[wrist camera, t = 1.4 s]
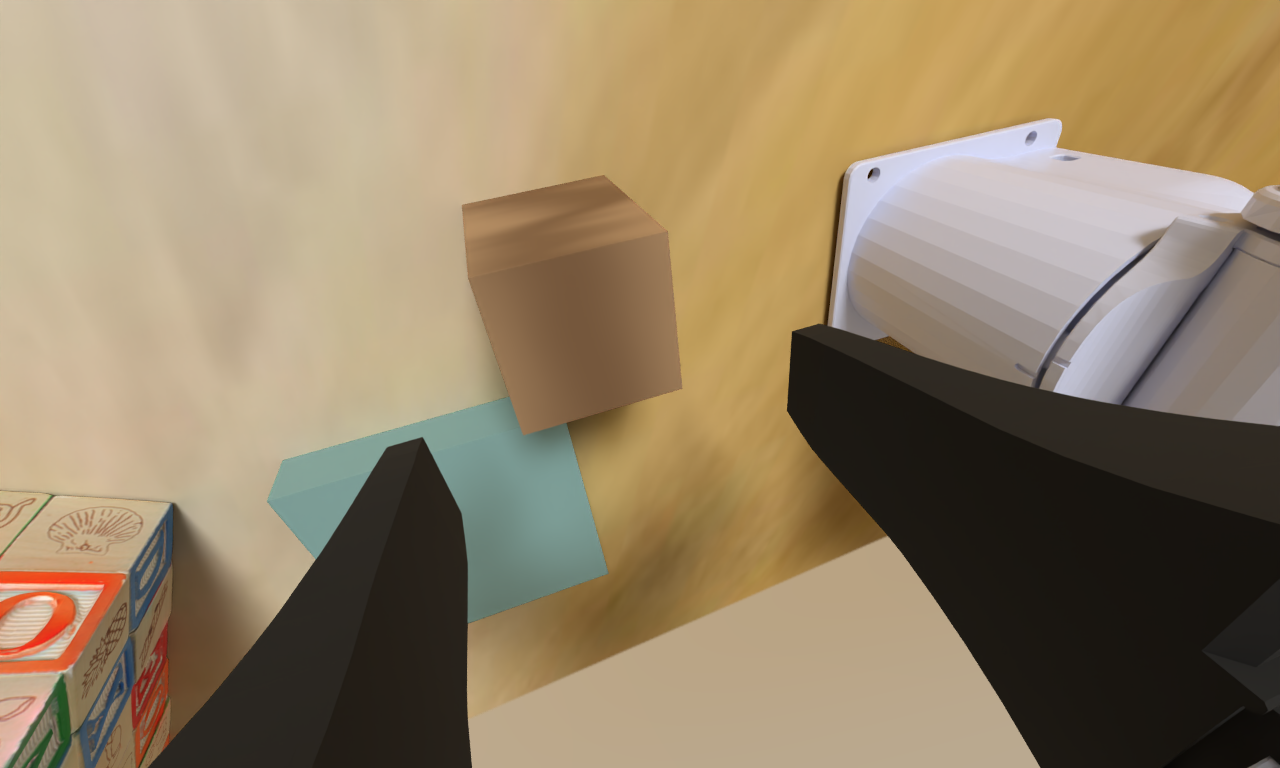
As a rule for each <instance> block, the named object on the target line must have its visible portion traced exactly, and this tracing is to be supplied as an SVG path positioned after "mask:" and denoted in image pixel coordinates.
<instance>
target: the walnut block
mask: <svg viewBox="0 0 1280 768" xmlns="http://www.w3.org/2000/svg"><path fill="white" fill-rule="evenodd" d="M462 211H463V223H464V235H465V246H466V258H467V270H468V279H469V282H470V285H471V288H472V291H473V293H474V296H475V299H476V302H477V305H478V308H479V311H480V313H481V316H482V319H483V322H484V325H485V328H486V331H487V333H488V336H489V339H490V342H491V345H492V348H493V351H494V353H495V356H496V359H497V362H498V365H499V368H500V371H501V374H502V376H503V379H504V382H505V385H506V388H507V391H508V394H509V396H510V399H511V402H512V405H513V408H514V411H515V414H516V416H517V419H518V422H519V425H520V428H521V431H522V434H523V435H526V434H530V433H533V432H537V431H540V430H543V429H547V428H550V427H554V426H557V425H560V424H564V423H567V422H571V421H574V420H577V419H581V418H584V417H588V416H591V415H594V414H598V413H601V412H605V411H608V410H611V409H615V408H618V407H622V406H625V405H628V404H632V403H635V402H639V401H642V400H645V399H649V398H652V397H656V396H659V395H662V394H666V393H669V392H673V391H676V390H679V389H682V380H681V369H680V358H679V348H678V337H677V326H676V315H675V304H674V293H673V283H672V272H671V261H670V250H669V239H668V231H667V230H666V229H665V228H664V227H662V226H661V225H660V224H659V223H658V222H657V221H656V220H654V219H653V218H652V217H651V216H650V215H649V214H648V213H646V212H645V211H644V210H643V209H642V208H641V207H640V206H638V205H637V204H636V203H635V202H634V201H633V200H632V199H630V198H629V197H628V196H627V195H626V194H625V193H624V192H622V191H621V190H620V189H619V188H618V187H617V186H616V185H615V184H613V183H612V182H611V181H610V180H609V179H608V178H607V177H605V176H604V175H603V176H598V177H593V178H588V179H583V180H579V181H574V182H569V183H564V184H560V185H555V186H550V187H545V188H541V189H536V190H531V191H526V192H522V193H517V194H512V195H507V196H503V197H498V198H493V199H488V200H484V201H479V202H474V203H469V204H465V205H462Z"/></svg>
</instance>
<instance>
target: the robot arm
mask: <svg viewBox="0 0 1280 768" xmlns="http://www.w3.org/2000/svg"><path fill="white" fill-rule="evenodd" d="M1061 130H1062V123H1061V121H1060V120H1059V119H1051V118H1047V119H1043V120H1039V121H1034V122H1030V123H1025V124H1021V125H1016V126H1012V127H1008V128H1003V129H999V130H994V131H990V132H985V133H981V134H977V135H972V136H968V137H963V138H959V139H954V140H950V141H945V142H941V143H937V144H932V145H928V146H923V147H919V148H914V149H910V150H906V151H901V152H897V153H892V154H888V155H883V156H879V157H875V158H870V159H866V160H861V161H857V162H855V163H853V164H852V165H851V166H850V167H849V168H848V169H847V171H846V173H845V176H844V181H843V191H842V200H841V209H840V218H839V227H838V236H837V245H836V254H835V263H834V272H833V281H832V290H831V299H830V309H829V318H828V326H827V325H823V324H817V325H813V326H810V327H806V328H803V329H799V330H796V331H792V341H791V357H790V372H789V388H788V404H787V412H788V413H789V415H790V416H791V418H792V419H793V421H794V423H795V424H796V426H797V427H798V429H799V431H800V432H801V434H802V435H803V437H804V438H805V439H806V441H807V442H808V444H809V445H810V447H811V448H812V450H813V451H814V452H815V453H816V454H817V456H818V457H819V458H820V459H821V460H822V461H823V463H824V464H825V465H826V466H827V467H828V468H829V469H830V471H831V472H832V473H833V474H834V475H835V476H836V478H837V479H838V480H839V481H840V482H841V483H842V484H843V485H844V487H845V488H846V489H847V490H848V491H849V492H850V493H851V494H852V496H853V497H854V498H855V499H856V500H857V501H858V502H859V504H860V505H861V506H862V507H863V508H864V509H865V510H866V511H867V513H868V514H869V515H870V516H871V517H872V518H873V519H874V520H875V522H876V523H877V524H878V525H879V526H880V527H881V528H882V529H883V531H884V532H885V533H886V534H887V535H888V537H889V538H890V539H891V540H892V541H893V543H894V544H895V545H896V546H897V548H898V549H899V550H900V551H901V553H902V554H903V555H904V557H905V558H906V559H907V561H908V562H909V563H910V565H911V566H912V568H913V569H914V571H915V572H916V573H917V575H918V576H919V578H920V579H921V580H922V582H923V583H924V584H925V586H926V587H927V589H928V590H929V591H930V593H931V594H932V596H933V597H934V599H935V600H936V602H937V603H938V604H939V606H940V607H941V609H942V610H943V612H944V613H945V615H946V616H947V618H948V619H949V621H950V622H951V624H952V625H953V627H954V628H955V630H956V631H957V632H958V634H959V635H960V637H961V638H962V640H963V641H964V643H965V644H966V646H967V647H968V649H969V651H970V652H971V654H972V655H973V657H974V659H975V660H976V662H977V663H978V665H979V666H980V668H981V670H982V671H983V673H984V674H985V676H986V677H987V679H988V681H989V682H990V684H991V685H992V687H993V689H994V690H995V691H996V693H997V695H998V696H999V698H1000V700H1001V701H1002V703H1003V705H1004V706H1005V708H1006V710H1007V711H1008V713H1009V715H1010V716H1011V718H1012V720H1013V721H1014V723H1015V725H1016V727H1017V728H1018V730H1019V732H1020V734H1021V735H1022V737H1023V739H1024V740H1025V742H1026V744H1027V745H1028V747H1029V749H1030V750H1031V752H1032V754H1033V755H1034V757H1035V759H1036V761H1037V762H1038V764H1039V766H1040V768H1280V185H1271V186H1267V187H1264V188H1261V189H1259V190H1258V191H1256V192H1255V193H1253V192H1251V191H1250V190H1248V189H1246V188H1245V187H1243V186H1241V185H1239V184H1237V183H1235V182H1233V181H1230V180H1227V179H1224V178H1221V177H1217V176H1212V175H1207V174H1201V173H1195V172H1190V171H1184V170H1179V169H1173V168H1168V167H1162V166H1156V165H1151V164H1145V163H1140V162H1134V161H1128V160H1123V159H1117V158H1112V157H1106V156H1100V155H1095V154H1089V153H1084V152H1078V151H1072V150H1067V149H1061V148H1056V146H1057V143H1058V140H1059V137H1060V134H1061ZM1026 137H1027V138H1026ZM871 169H873V173H872V176H871V177H870V178H869V179H868V177H867V176H868V174H869V172H870V170H871ZM887 336H890V337H892V338H893V339H895V340H896V341H898V342H899V343H901V344H902V345H903V346H905V347H906V348H908V349H909V350H911V351H912V352H914V353H915V354H914V353H911V352H908V351H905V350H902V349H899V348H896V347H893V346H890V345H887V344H884V343H881V342H878V341H875V340H877V339H881V338H884V337H887ZM467 631H468V560H467V551H466V542H465V534H464V527H463V519H462V513H461V511H460V509H459V507H458V505H457V503H456V501H455V499H454V497H453V495H452V493H451V491H450V489H449V487H448V485H447V483H446V481H445V479H444V477H443V475H442V473H441V472H440V470H439V468H438V466H437V464H436V462H435V460H434V458H433V456H432V454H431V452H430V450H429V448H428V446H427V444H426V442H425V440H424V438H423V437H420V438H417V439H413V440H410V441H406V442H403V443H399V444H396V445H392V446H389V447H387V448H386V449H385V451H384V452H383V454H382V456H381V457H380V459H379V460H378V462H377V464H376V465H375V467H374V468H373V470H372V472H371V473H370V475H369V477H368V478H367V480H366V482H365V483H364V485H363V486H362V488H361V490H360V491H359V493H358V495H357V496H356V498H355V500H354V501H353V503H352V504H351V506H350V508H349V509H348V511H347V513H346V514H345V516H344V517H343V519H342V520H341V522H340V524H339V525H338V527H337V528H336V530H335V531H334V533H333V534H332V536H331V538H330V539H329V541H328V542H327V544H326V545H325V547H324V549H323V550H322V552H321V553H320V554H319V556H318V557H317V559H316V560H315V562H314V563H313V564H312V566H311V567H310V569H309V570H308V572H307V573H306V574H305V576H304V577H303V579H302V580H301V582H300V583H299V584H298V586H297V587H296V589H295V590H294V592H293V593H292V594H291V596H290V597H289V599H288V600H287V602H286V603H285V604H284V606H283V607H282V609H281V610H280V611H279V613H278V614H277V615H276V617H275V618H274V619H273V621H272V622H271V623H270V625H269V626H268V627H267V629H266V630H265V631H264V632H263V634H262V635H261V636H260V638H259V639H258V640H257V641H256V643H255V644H254V645H253V647H252V648H251V649H250V650H249V651H248V653H247V654H246V655H245V656H244V658H243V659H242V660H241V661H240V662H239V664H238V665H237V666H236V667H235V669H234V670H233V671H232V672H231V673H230V675H229V676H228V677H227V678H226V680H225V681H224V682H223V683H222V684H221V686H220V687H219V688H218V689H217V690H216V692H215V693H214V694H213V695H212V696H211V697H210V699H209V700H208V701H207V702H206V703H205V704H204V706H203V707H202V708H201V709H200V710H199V711H198V712H197V713H196V714H195V716H194V717H193V718H192V719H191V720H190V721H189V722H188V723H187V724H186V725H185V727H184V728H183V729H182V730H181V731H180V732H179V733H178V734H177V735H176V737H175V738H174V739H173V740H172V741H171V742H170V743H169V744H168V745H167V747H166V748H165V749H164V750H163V751H162V752H161V753H160V754H159V755H158V756H157V758H156V759H155V760H154V761H153V762H152V763H151V764H150V765H149V766H148V768H472V763H471V752H470V740H469V728H468V712H467Z"/></svg>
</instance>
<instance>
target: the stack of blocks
mask: <svg viewBox="0 0 1280 768" xmlns="http://www.w3.org/2000/svg"><path fill="white" fill-rule="evenodd" d="M172 542H173V505H172V503H166V502H154V501H139V500H127V499H112V498H95V497H79V496H52V495H49V494H44V493H29V492H13V491H0V768H148V766H149V765H150V764H151V763H152V762H153V761H154V760H155V759H156V758H157V756H158V755H159V754H160V753H161V752H162V751H163V750H164V749H165V748H166V747H167V745H168V744H169V729H170V712H171V699H170V697H168V696H167V692H168V682H167V681H168V660H169V659H168V658H166V654H167V634H168V633H167V627H168V623H167V622H168V618H169V616H170V614H171V610H172V579H173V566H172V562H171V557H172Z"/></svg>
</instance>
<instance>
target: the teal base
mask: <svg viewBox="0 0 1280 768" xmlns="http://www.w3.org/2000/svg"><path fill="white" fill-rule="evenodd" d="M420 437H423V438H424V440H425V442H426V444H427V446H428V448H429V450H430V452H431V454H432V456H433V458H434V460H435V462H436V464H437V466H438V468H439V470H440V472H441V473H442V475H443V477H444V479H445V481H446V483H447V485H448V487H449V489H450V491H451V493H452V495H453V497H454V499H455V501H456V503H457V505H458V507H459V509H460V511H461V513H462V519H463V527H464V534H465V542H466V551H467V560H468V623H471V622H474V621H477V620H480V619H482V618H485V617H488V616H491V615H494V614H496V613H499V612H502V611H505V610H508V609H510V608H513V607H516V606H519V605H522V604H525V603H527V602H530V601H533V600H536V599H539V598H541V597H544V596H547V595H550V594H553V593H555V592H558V591H561V590H564V589H567V588H569V587H572V586H575V585H578V584H581V583H584V582H586V581H589V580H592V579H595V578H598V577H600V576H603V575H606V574H608V570H607V566H606V563H605V559H604V556H603V552H602V548H601V545H600V541H599V538H598V534H597V531H596V527H595V523H594V520H593V516H592V513H591V509H590V505H589V502H588V498H587V495H586V491H585V488H584V484H583V480H582V477H581V473H580V470H579V466H578V463H577V459H576V455H575V452H574V448H573V445H572V441H571V437H570V434H569V430H568V427H567V423H564V424H560V425H557V426H554V427H550V428H547V429H543V430H540V431H537V432H533V433H530V434H526V435H523V434H522V431H521V428H520V425H519V422H518V419H517V416H516V414H515V411H514V408H513V405H512V402H511V399H510V397H507V398H503V399H499V400H496V401H492V402H489V403H485V404H482V405H478V406H475V407H471V408H467V409H464V410H460V411H457V412H453V413H450V414H446V415H443V416H439V417H435V418H432V419H428V420H425V421H421V422H418V423H414V424H411V425H407V426H403V427H400V428H396V429H393V430H389V431H386V432H382V433H379V434H375V435H371V436H368V437H364V438H361V439H357V440H354V441H350V442H347V443H343V444H339V445H336V446H332V447H329V448H325V449H322V450H318V451H315V452H311V453H307V454H304V455H300V456H297V457H293V458H290V459H286V460H283V461H282V464H281V466H280V469H279V471H278V474H277V477H276V479H275V482H274V484H273V487H272V489H271V492H270V495H269V497H268V500H267V502H268V503H269V505H270V506H271V507H272V508H273V509H274V511H275V512H276V513H277V514H278V515H279V516H280V518H281V519H282V520H283V521H284V522H285V524H286V525H287V526H288V527H289V528H290V529H291V531H292V532H293V533H294V534H295V535H296V537H297V538H298V539H299V540H300V541H301V542H302V544H303V545H304V546H305V547H306V548H307V550H308V551H309V552H310V553H311V554H312V555H313V557H314V558H315V559H317V557H318V556H319V554H320V553H321V552H322V550H323V549H324V547H325V545H326V544H327V542H328V541H329V539H330V538H331V536H332V534H333V533H334V531H335V530H336V528H337V527H338V525H339V524H340V522H341V520H342V519H343V517H344V516H345V514H346V513H347V511H348V509H349V508H350V506H351V504H352V503H353V501H354V500H355V498H356V496H357V495H358V493H359V491H360V490H361V488H362V486H363V485H364V483H365V482H366V480H367V478H368V477H369V475H370V473H371V472H372V470H373V468H374V467H375V465H376V464H377V462H378V460H379V459H380V457H381V456H382V454H383V452H384V451H385V449H386V448H387V447H389V446H392V445H396V444H399V443H403V442H406V441H410V440H413V439H417V438H420Z"/></svg>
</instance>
